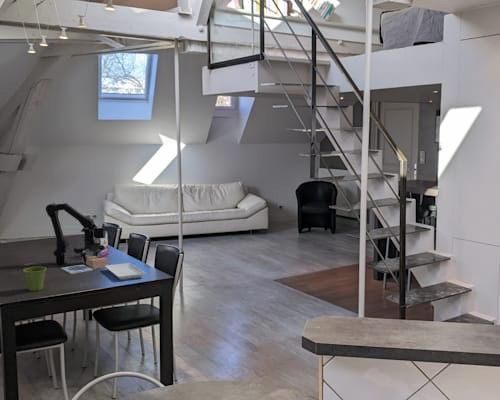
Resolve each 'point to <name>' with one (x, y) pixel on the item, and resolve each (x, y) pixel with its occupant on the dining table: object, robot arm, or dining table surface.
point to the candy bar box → (102, 242)
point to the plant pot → (35, 277)
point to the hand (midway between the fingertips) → (89, 261)
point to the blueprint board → (76, 269)
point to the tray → (125, 271)
